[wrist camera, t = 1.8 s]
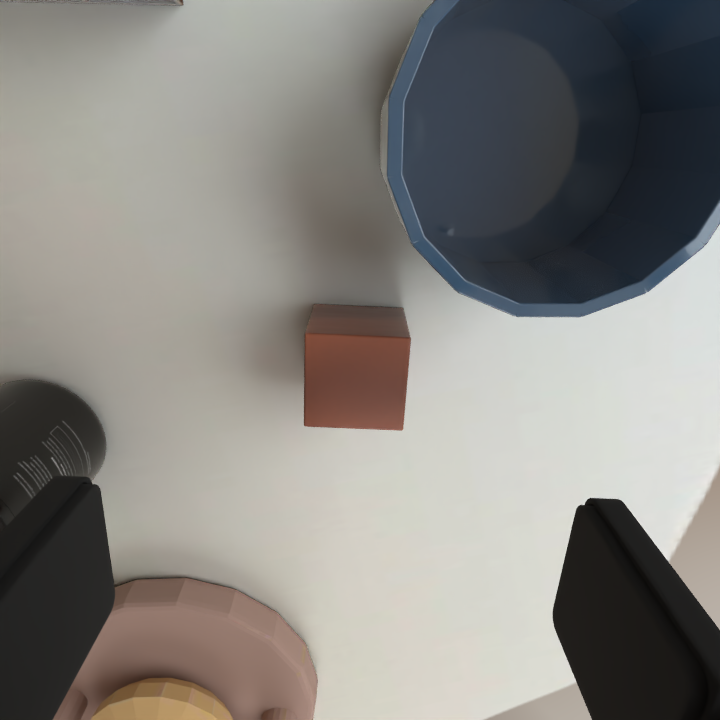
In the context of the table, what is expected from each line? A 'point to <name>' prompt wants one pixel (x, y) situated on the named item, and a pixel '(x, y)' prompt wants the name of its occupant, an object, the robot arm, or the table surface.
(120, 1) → the food container
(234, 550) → the table surface
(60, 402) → the supplement bottle
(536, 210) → the bowl
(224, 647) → the hourglass
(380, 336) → the block
